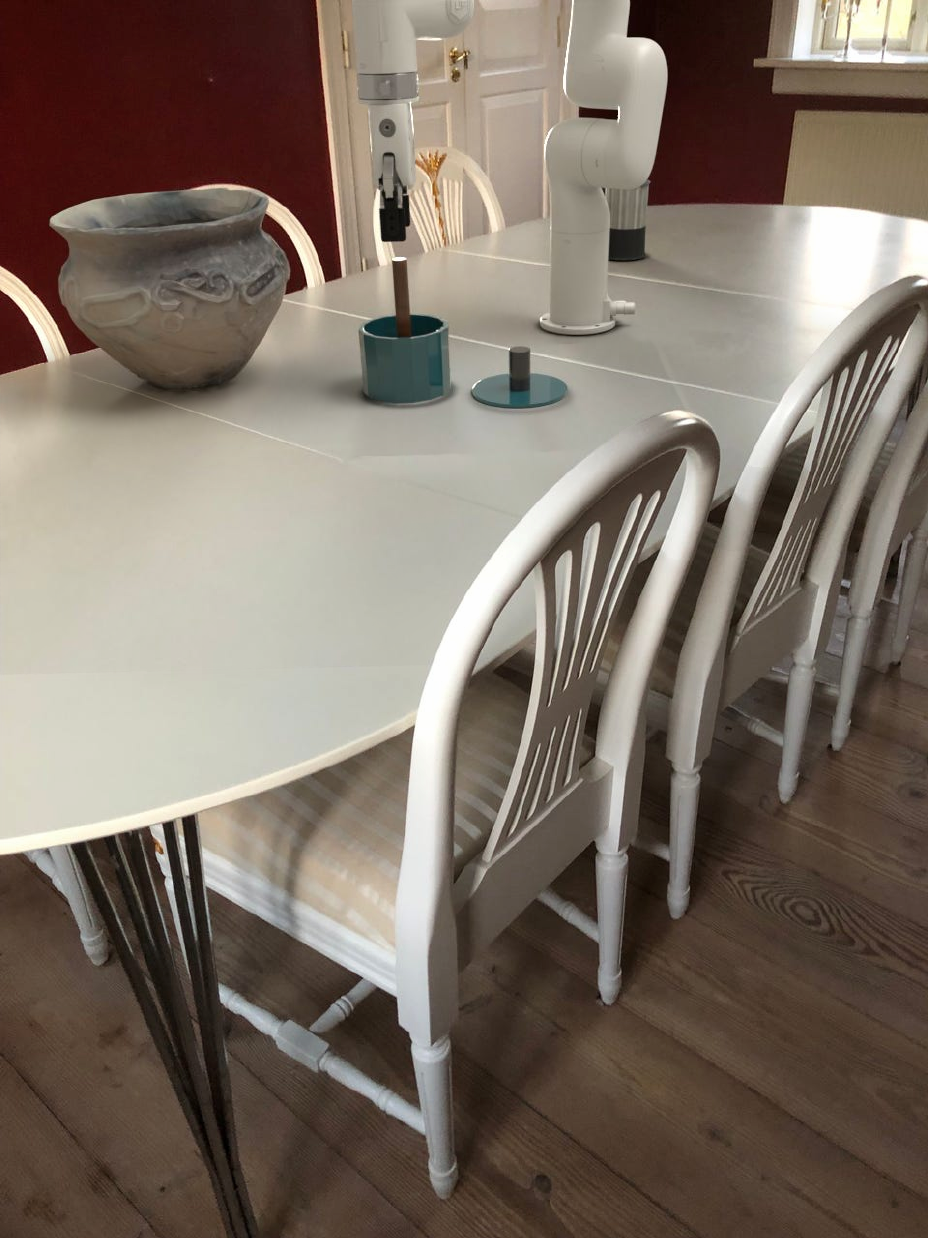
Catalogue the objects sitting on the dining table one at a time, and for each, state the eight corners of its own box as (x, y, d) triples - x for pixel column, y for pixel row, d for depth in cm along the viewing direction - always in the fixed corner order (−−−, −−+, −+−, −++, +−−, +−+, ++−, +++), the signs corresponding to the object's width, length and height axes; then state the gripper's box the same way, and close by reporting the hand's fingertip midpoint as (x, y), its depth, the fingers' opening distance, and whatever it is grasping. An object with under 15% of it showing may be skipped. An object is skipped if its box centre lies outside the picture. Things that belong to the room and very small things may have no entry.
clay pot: (193, 432, 138) (158, 236, 125) (34, 395, 153) (-12, 217, 140) (345, 361, 162) (329, 190, 149) (195, 335, 177) (168, 178, 164)
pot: (451, 376, 154) (449, 312, 149) (449, 405, 143) (447, 337, 138) (368, 378, 154) (363, 314, 149) (360, 408, 144) (354, 340, 139)
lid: (563, 378, 151) (564, 333, 148) (571, 410, 140) (572, 363, 137) (472, 381, 152) (471, 336, 148) (472, 413, 140) (470, 366, 137)
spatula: (415, 381, 151) (407, 253, 142) (413, 395, 146) (405, 263, 137) (401, 381, 151) (393, 254, 142) (399, 395, 146) (390, 264, 137)
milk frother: (653, 253, 217) (657, 178, 210) (621, 270, 206) (624, 190, 199) (592, 248, 224) (594, 174, 216) (558, 263, 213) (559, 186, 205)
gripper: (414, 93, 121) (421, 246, 130) (421, 83, 136) (427, 220, 145) (350, 95, 121) (362, 248, 130) (364, 84, 136) (373, 222, 145)
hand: (396, 233), depth 137 cm, fingers open, 9 cm apart
